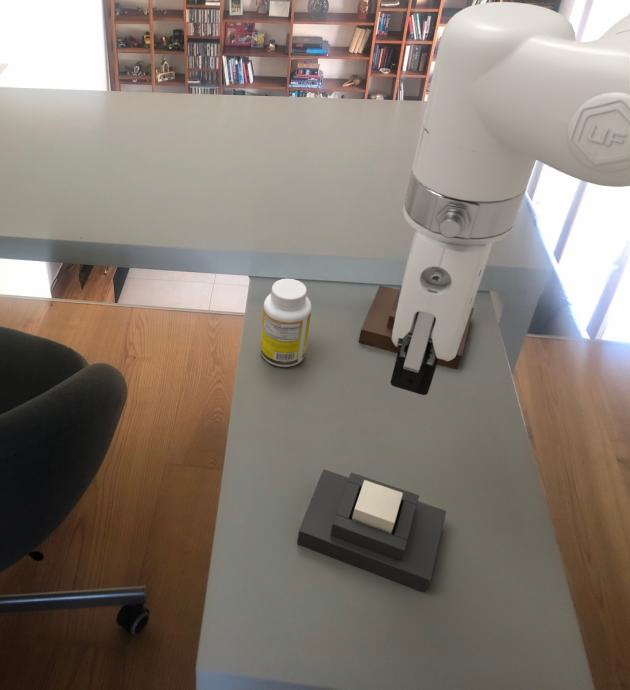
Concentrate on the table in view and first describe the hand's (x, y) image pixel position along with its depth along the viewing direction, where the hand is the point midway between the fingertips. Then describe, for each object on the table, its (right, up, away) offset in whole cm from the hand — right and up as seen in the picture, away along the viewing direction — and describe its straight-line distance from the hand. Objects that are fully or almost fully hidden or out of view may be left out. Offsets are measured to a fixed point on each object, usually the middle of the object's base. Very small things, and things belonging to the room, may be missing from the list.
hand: (410, 384), depth 61 cm
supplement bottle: (-7, +2, +25) cm, 27 cm away
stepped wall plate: (-2, -15, +6) cm, 16 cm away
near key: (-2, -12, +4) cm, 13 cm away
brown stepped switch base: (+10, +5, +28) cm, 30 cm away
